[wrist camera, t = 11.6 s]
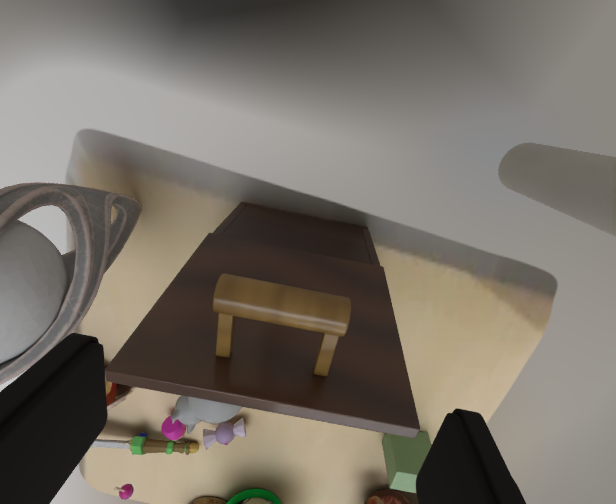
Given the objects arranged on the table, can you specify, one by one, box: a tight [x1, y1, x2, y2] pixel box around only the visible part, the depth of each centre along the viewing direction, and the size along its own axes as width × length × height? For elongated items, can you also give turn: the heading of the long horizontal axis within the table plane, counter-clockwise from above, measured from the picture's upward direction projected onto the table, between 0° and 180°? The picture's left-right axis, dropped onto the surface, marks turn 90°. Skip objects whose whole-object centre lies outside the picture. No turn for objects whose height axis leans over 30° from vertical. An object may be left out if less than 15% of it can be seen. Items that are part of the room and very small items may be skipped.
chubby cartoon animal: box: [171, 395, 242, 434], centre depth 44 cm, size 7×12×8 cm, turn 127°
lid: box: [105, 233, 420, 438], centre depth 21 cm, size 14×15×5 cm
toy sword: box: [91, 432, 199, 455], centre depth 52 cm, size 6×3×30 cm
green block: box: [382, 431, 432, 493], centre depth 48 cm, size 6×4×7 cm, turn 79°
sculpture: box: [0, 183, 141, 385], centre depth 25 cm, size 12×12×30 cm
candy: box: [114, 416, 246, 499], centre depth 50 cm, size 18×8×6 cm
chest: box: [213, 202, 380, 266], centre depth 36 cm, size 14×15×11 cm
